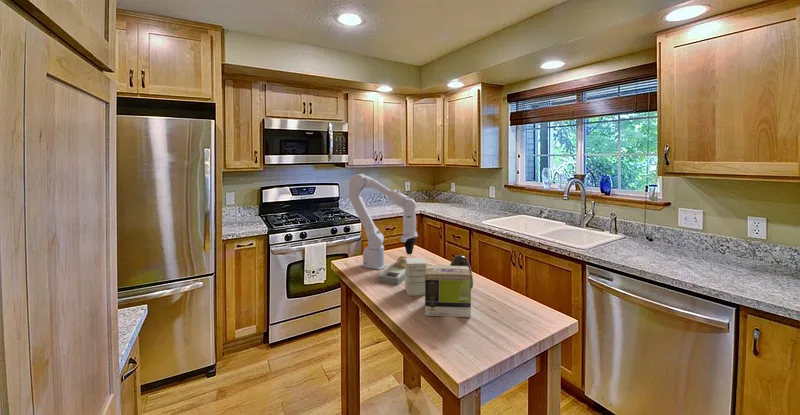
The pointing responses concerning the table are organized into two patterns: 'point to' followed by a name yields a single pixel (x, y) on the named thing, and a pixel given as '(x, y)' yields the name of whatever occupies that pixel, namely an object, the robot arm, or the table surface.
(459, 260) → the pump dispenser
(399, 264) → the maple block
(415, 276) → the supplement box
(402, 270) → the trap lane
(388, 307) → the table surface
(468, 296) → the tea box
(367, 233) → the robot arm
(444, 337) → the table surface
